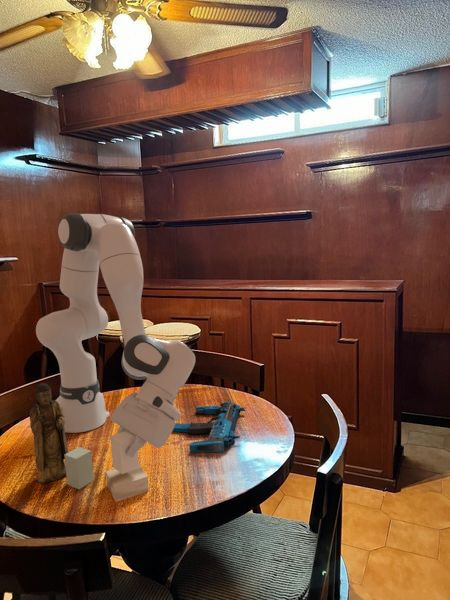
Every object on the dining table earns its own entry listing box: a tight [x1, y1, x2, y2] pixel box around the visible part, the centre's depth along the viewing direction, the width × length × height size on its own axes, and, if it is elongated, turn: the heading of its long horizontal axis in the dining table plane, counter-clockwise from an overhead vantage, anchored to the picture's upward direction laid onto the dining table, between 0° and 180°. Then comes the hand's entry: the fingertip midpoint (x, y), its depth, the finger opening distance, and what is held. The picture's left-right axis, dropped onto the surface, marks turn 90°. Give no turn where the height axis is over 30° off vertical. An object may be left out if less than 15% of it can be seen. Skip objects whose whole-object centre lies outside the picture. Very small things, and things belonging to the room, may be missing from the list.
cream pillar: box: [109, 430, 140, 474], centre depth 104 cm, size 4×4×8 cm
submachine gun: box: [172, 398, 247, 453], centre depth 138 cm, size 34×4×25 cm
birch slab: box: [105, 464, 150, 503], centre depth 105 cm, size 8×8×4 cm
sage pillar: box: [64, 446, 95, 490], centre depth 108 cm, size 4×4×8 cm
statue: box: [29, 382, 69, 485], centre depth 109 cm, size 9×9×25 cm
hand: (122, 451), depth 103 cm, fingers closed on cream pillar, 4 cm apart
